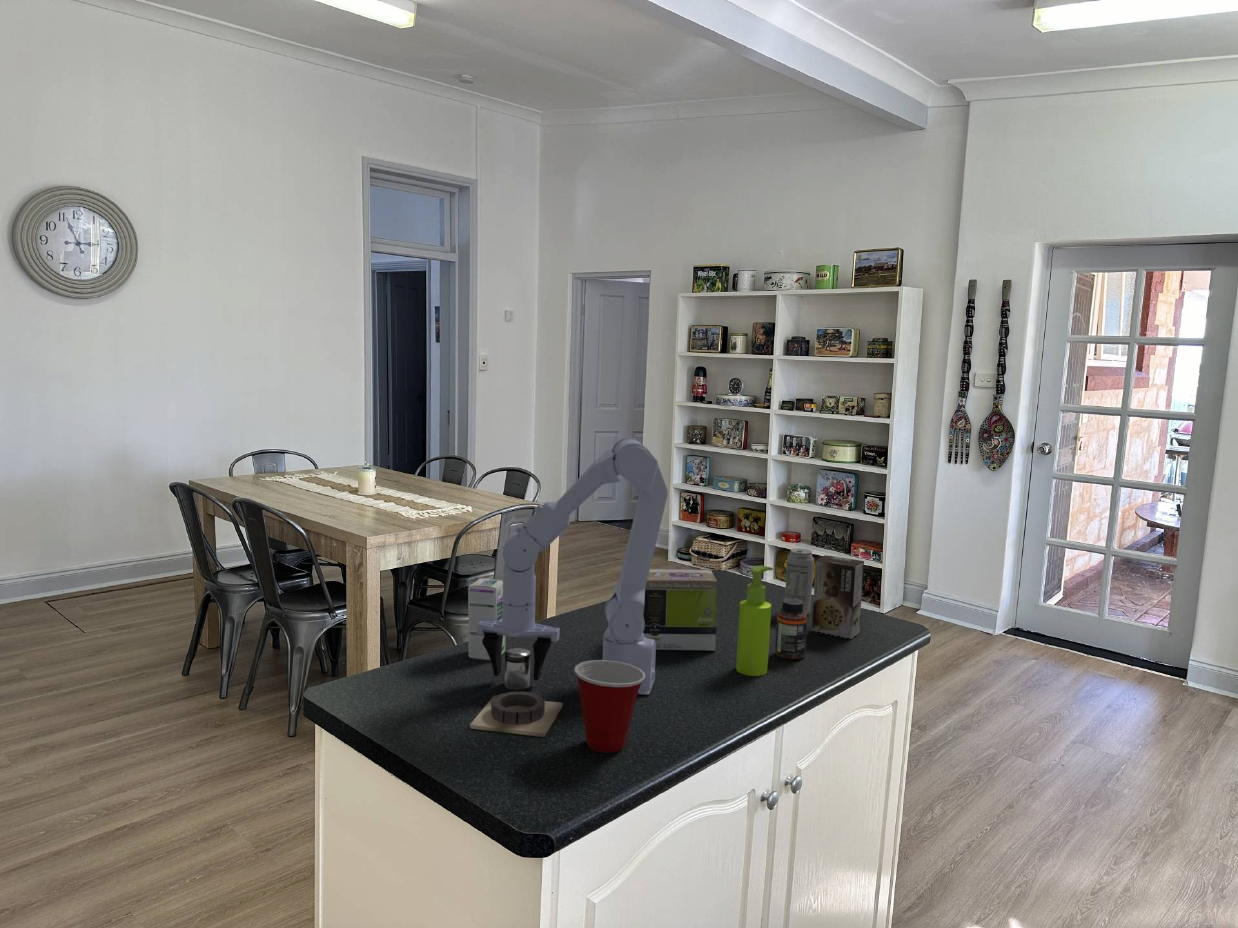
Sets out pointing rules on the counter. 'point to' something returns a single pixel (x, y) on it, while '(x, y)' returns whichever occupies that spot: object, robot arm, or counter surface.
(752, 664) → the soap dispenser
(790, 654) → the supplement bottle
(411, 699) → the counter surface
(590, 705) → the plastic cup
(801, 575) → the energy drink can
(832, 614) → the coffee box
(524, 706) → the mount plate
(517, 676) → the silver capped cylinder
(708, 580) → the tea box
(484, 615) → the syrup box
